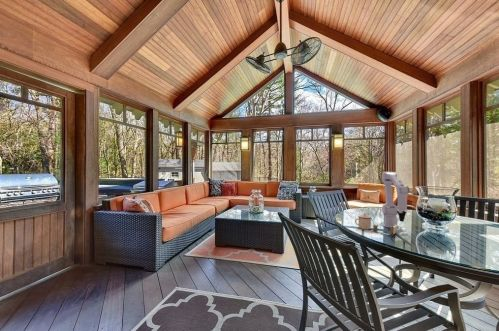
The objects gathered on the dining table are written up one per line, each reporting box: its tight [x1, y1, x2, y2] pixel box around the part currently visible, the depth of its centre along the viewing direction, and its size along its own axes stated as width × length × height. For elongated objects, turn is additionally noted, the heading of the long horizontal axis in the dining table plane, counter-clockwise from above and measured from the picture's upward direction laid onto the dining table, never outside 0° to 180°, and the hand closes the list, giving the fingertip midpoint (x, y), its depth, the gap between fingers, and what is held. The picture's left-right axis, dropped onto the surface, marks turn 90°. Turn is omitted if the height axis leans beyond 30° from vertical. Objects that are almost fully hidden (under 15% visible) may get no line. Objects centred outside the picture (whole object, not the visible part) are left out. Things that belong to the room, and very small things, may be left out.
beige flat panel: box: [393, 224, 399, 235], centre depth 172 cm, size 12×1×5 cm, turn 136°
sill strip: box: [376, 230, 390, 236], centre depth 174 cm, size 2×11×1 cm, turn 26°
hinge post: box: [389, 226, 394, 237], centre depth 167 cm, size 2×2×7 cm
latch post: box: [372, 224, 379, 233], centre depth 177 cm, size 2×2×5 cm, turn 26°
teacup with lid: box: [354, 212, 372, 230], centre depth 186 cm, size 12×9×12 cm
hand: (401, 221), depth 171 cm, fingers closed
